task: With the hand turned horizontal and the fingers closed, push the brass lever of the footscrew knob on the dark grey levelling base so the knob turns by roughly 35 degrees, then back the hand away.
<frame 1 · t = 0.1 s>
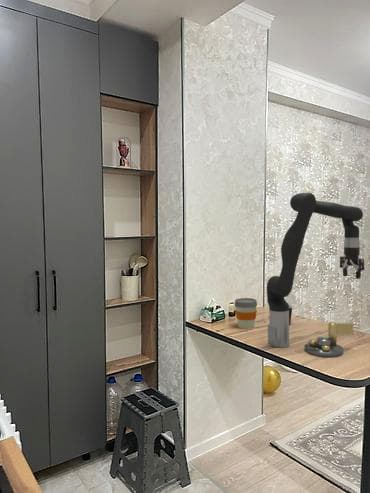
hand: (351, 277, 203), 29 cm above the table, tool pointing down, fingers open, 8 cm apart
levelling base: (323, 350, 179), on the table
beer glass: (280, 328, 216), on the table
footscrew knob: (340, 334, 180), point 7 cm above the table, hinge at 0.0°
coffee mug: (284, 323, 226), on the table
reusable coffee cup: (246, 326, 222), on the table
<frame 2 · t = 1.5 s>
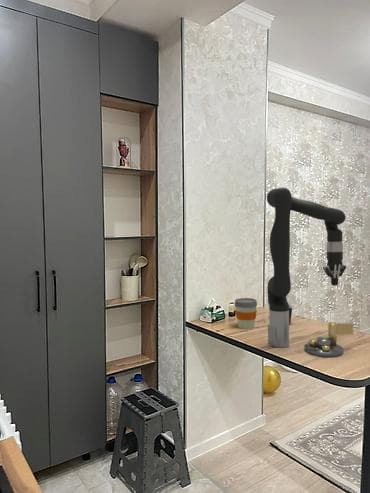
hand: (334, 285, 194), 27 cm above the table, tool pointing down, fingers closed
nothing on the table moved.
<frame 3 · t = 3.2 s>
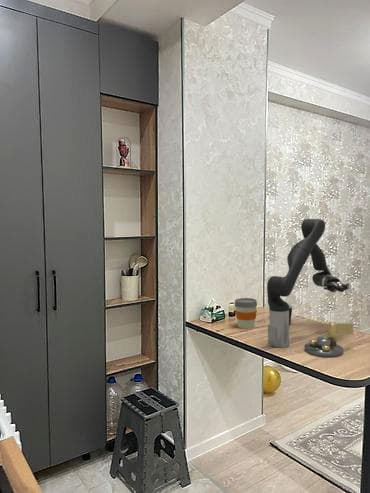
hand: (342, 289, 186), 26 cm above the table, tool horizontal, fingers closed
nothing on the table moved.
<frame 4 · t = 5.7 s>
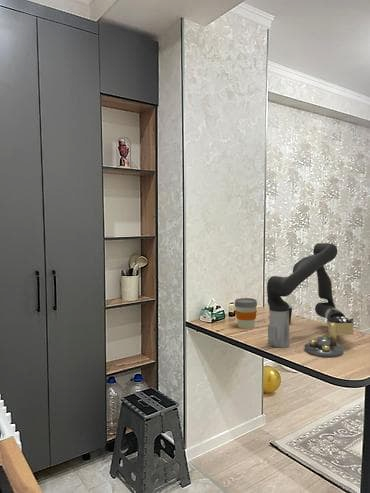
hand: (346, 326, 180), 11 cm above the table, tool horizontal, fingers closed
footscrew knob: (340, 334, 180), point 7 cm above the table, hinge at -0.3°, touching gripper
everything else where it was.
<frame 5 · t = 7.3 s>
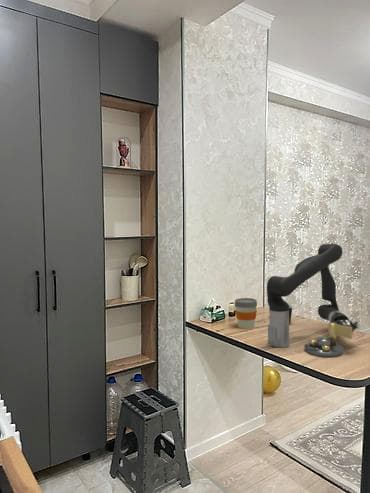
hand: (351, 330, 175), 10 cm above the table, tool horizontal, fingers closed
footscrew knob: (339, 335, 178), point 7 cm above the table, hinge at -44.1°, touching gripper
everything else where it was.
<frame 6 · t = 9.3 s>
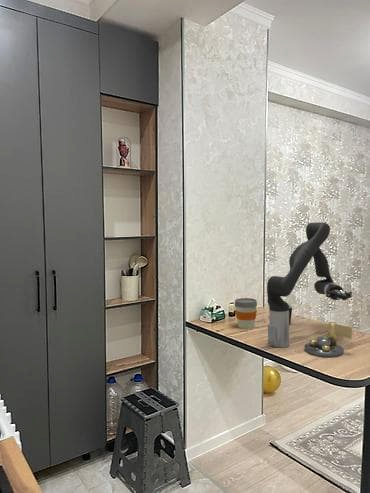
hand: (345, 297, 181), 24 cm above the table, tool horizontal, fingers closed
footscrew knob: (339, 335, 178), point 7 cm above the table, hinge at -44.5°
everything else where it was.
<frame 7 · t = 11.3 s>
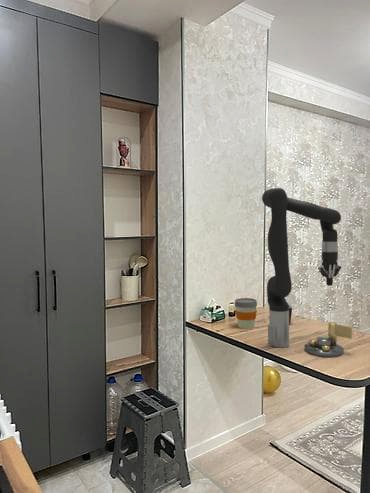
hand: (329, 285, 194), 27 cm above the table, tool pointing down, fingers closed
nothing on the table moved.
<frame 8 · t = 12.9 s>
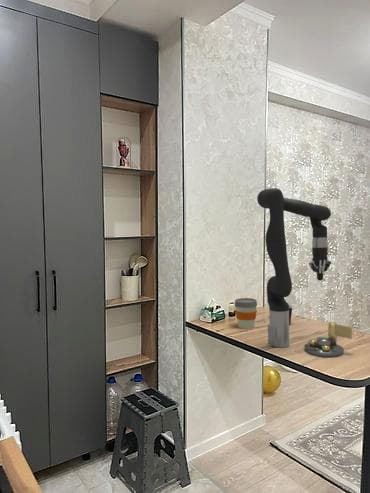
hand: (320, 280, 198), 29 cm above the table, tool pointing down, fingers closed
nothing on the table moved.
at the end: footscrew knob at -44° (first picture: +0°) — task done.
